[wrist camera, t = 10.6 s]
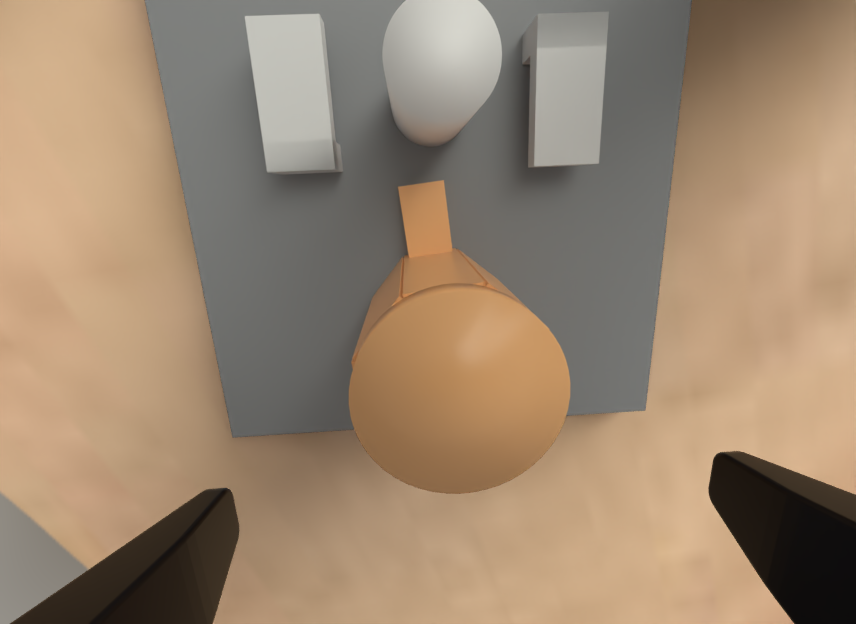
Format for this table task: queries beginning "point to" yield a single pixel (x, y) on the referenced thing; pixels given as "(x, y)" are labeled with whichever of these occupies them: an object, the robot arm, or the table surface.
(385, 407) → the tan rounded piece
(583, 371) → the stand
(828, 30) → the table surface
